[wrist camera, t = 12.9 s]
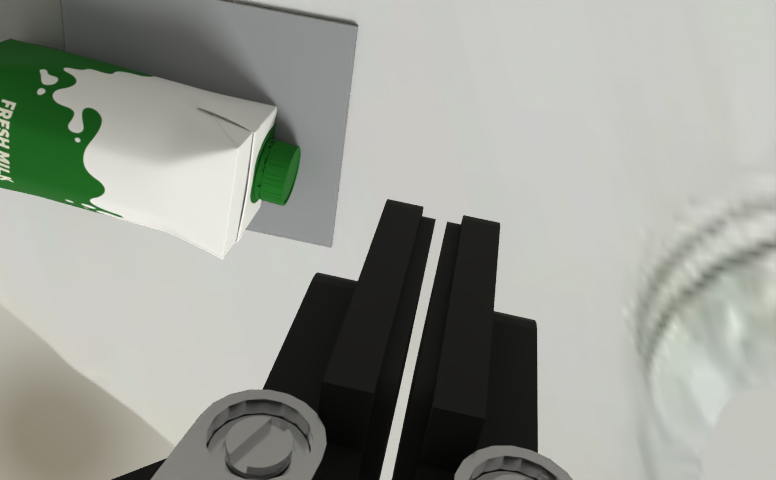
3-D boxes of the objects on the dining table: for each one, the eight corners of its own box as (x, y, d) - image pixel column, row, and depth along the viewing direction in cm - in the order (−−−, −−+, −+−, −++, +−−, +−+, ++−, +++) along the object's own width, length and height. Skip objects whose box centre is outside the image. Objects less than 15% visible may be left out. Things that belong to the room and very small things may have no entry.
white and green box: (18, 143, 53) (289, 219, 52) (-69, 195, 45) (251, 284, 44) (17, 21, 48) (312, 102, 48) (-79, 53, 41) (274, 151, 40)
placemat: (60, -32, 46) (57, -31, 46) (358, 25, 45) (357, 26, 45) (81, 192, 55) (78, 194, 54) (331, 245, 53) (330, 247, 53)
